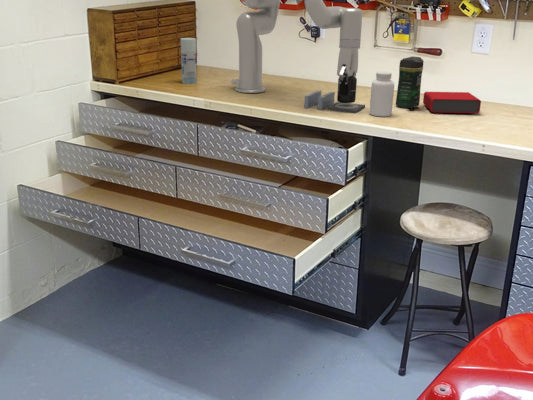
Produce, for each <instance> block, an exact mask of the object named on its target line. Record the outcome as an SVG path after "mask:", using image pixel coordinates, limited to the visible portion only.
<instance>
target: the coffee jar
mask: <svg viewBox="0 0 533 400" xmlns="http://www.w3.org/2000/svg"><path fill="white" fill-rule="evenodd" d="M398 67H399V68H398V69H399V71H398V72H399V73H398V83H397V89H396V99H395V105H396V107H399V108H402V109H407V108H409V109H412V108H413V109H414V108H416V107H418V106H419V105H420V99H421V86H422V85H421V84H422V76H423V75H422V74H423V70H424V59H422V57H421V56H409V57H404V58H401V60H400V61H399V66H398Z"/></svg>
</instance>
